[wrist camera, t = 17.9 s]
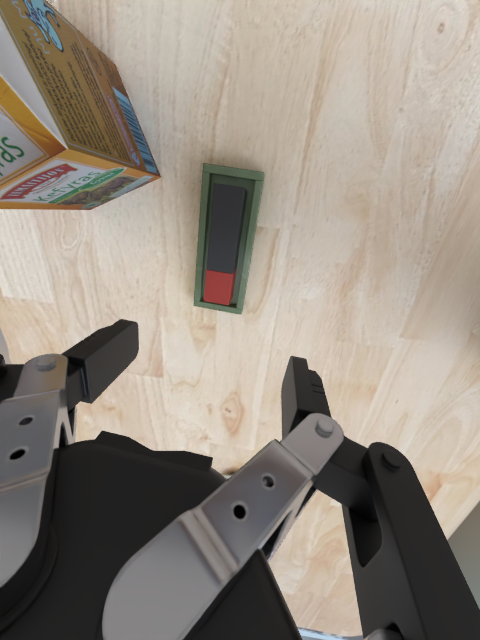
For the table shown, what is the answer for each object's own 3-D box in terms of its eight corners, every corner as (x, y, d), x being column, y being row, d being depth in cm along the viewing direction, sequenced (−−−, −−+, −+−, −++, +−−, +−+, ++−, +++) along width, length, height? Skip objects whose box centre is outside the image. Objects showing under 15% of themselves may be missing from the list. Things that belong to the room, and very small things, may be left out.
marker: (219, 185, 27) (213, 182, 25) (247, 190, 27) (244, 187, 24) (209, 293, 33) (203, 301, 30) (232, 297, 33) (228, 305, 30)
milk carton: (90, 209, 31) (-143, 207, 14) (39, 112, 27) (-370, -61, 10) (160, 177, 28) (-15, 123, 11) (115, 64, 24) (-259, -282, 7)
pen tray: (206, 165, 27) (203, 162, 26) (264, 174, 27) (264, 172, 25) (196, 301, 34) (193, 305, 33) (242, 310, 34) (241, 314, 32)
